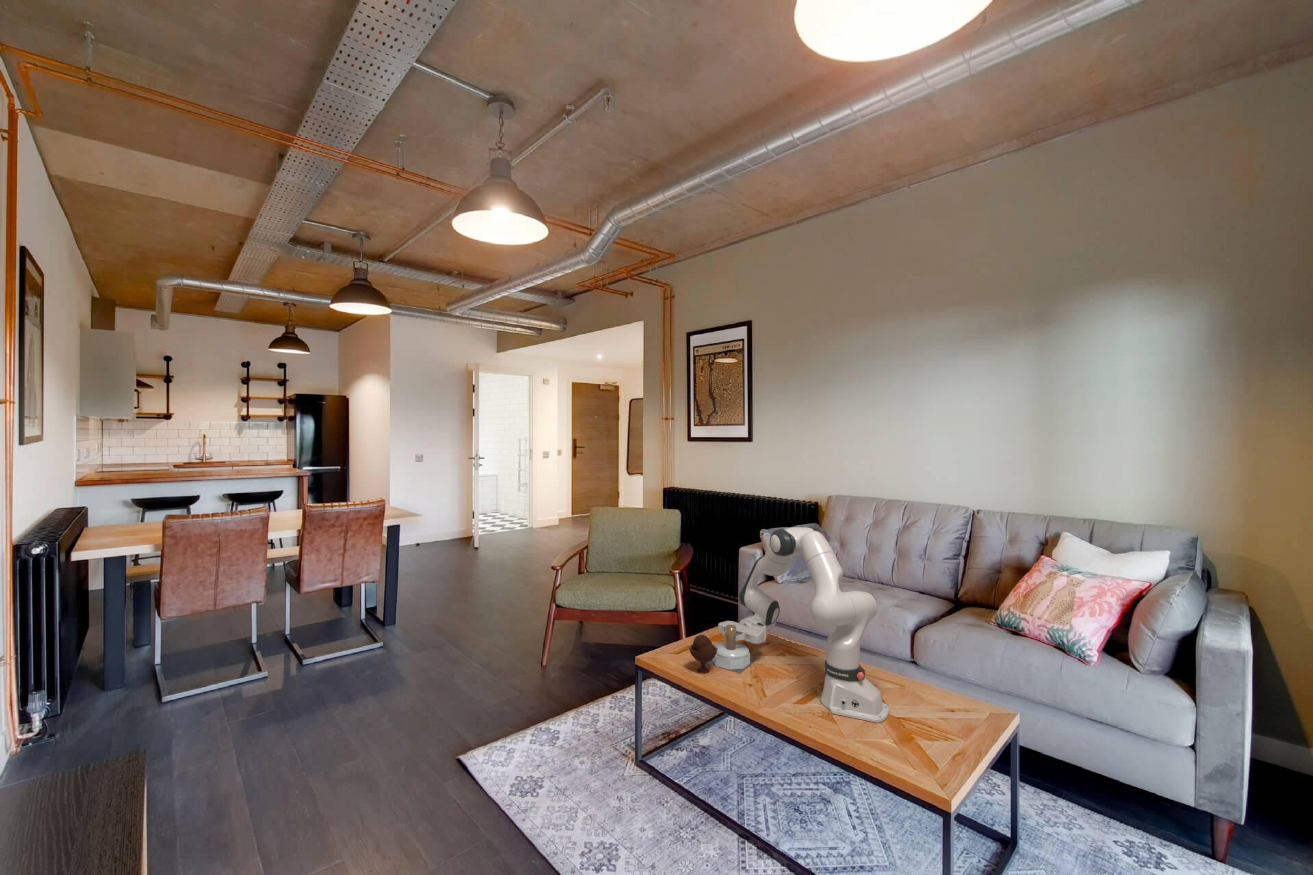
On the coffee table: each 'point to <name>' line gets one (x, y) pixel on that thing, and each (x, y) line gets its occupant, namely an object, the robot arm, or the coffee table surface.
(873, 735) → the coffee table surface
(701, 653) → the ice cream bowl
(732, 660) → the hexagonal peg stand
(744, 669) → the mat
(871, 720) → the robot arm
